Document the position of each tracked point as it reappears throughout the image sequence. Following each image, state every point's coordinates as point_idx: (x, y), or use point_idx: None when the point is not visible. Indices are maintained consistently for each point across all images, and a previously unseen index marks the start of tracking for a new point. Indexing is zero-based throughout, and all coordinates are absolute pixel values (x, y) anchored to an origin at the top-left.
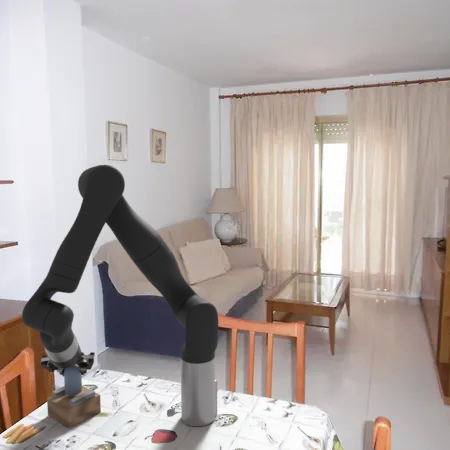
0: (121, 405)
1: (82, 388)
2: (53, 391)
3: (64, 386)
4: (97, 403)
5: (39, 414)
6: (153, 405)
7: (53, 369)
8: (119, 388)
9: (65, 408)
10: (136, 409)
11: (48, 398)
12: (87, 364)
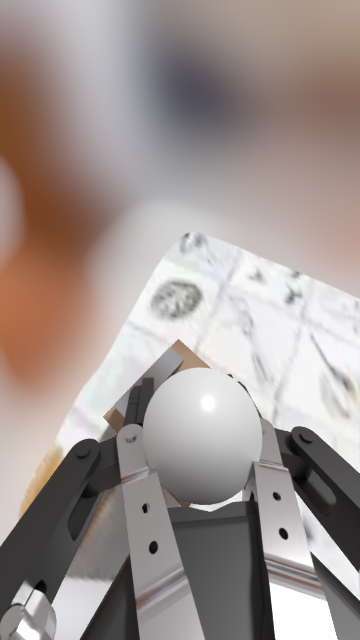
0: (277, 381)
1: (194, 362)
2: (117, 406)
3: (146, 373)
4: None
5: (93, 403)
6: (348, 390)
7: (99, 497)
8: (250, 306)
9: (173, 496)
10: (317, 404)
11: (107, 416)
12: (298, 471)
